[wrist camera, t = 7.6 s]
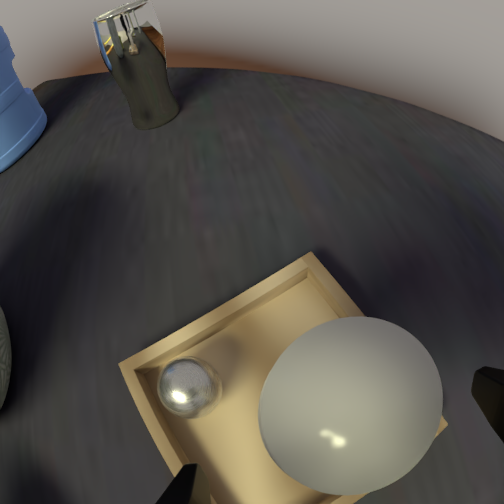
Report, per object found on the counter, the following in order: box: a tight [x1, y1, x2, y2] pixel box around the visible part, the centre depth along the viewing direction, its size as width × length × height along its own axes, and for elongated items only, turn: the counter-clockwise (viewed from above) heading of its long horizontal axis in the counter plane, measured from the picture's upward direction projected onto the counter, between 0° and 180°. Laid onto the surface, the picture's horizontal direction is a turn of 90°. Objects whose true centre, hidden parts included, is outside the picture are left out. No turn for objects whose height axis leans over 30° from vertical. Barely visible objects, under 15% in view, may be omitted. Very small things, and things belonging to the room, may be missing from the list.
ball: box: [157, 356, 223, 419], centre depth 16 cm, size 4×4×4 cm
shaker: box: [258, 316, 443, 495], centre depth 11 cm, size 5×5×11 cm
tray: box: [119, 252, 448, 504], centre depth 16 cm, size 14×14×2 cm
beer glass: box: [91, 0, 179, 130], centre depth 28 cm, size 7×7×15 cm
